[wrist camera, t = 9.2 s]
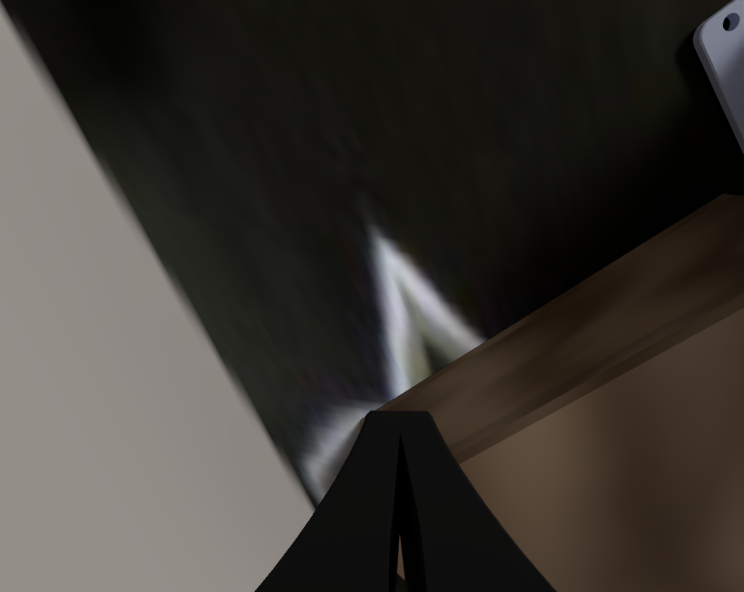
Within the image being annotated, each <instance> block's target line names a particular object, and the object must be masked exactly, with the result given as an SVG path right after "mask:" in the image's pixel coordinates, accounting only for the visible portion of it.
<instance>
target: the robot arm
mask: <svg viewBox="0 0 744 592" xmlns="http://www.w3.org/2000/svg"><path fill="white" fill-rule="evenodd" d="M725 17H727V18H728V19H729V20H730V26H729V29H728V30H727V31H725V29H724V28H723V21H724V19H725ZM693 43H694V47H695V49H696V52H697V54H698V56H699V58H700V60H701V62H702V65H703V67H704V69H705V71H706V73H707V75H708V78H709V80H710V82H711V84H712V86H713V89H714V91H715V93H716V95H717V97H718V99H719V102H720V104H721V106H722V108H723V110H724V113H725V115H726V117H727V119H728V121H729V123H730V126H731V128H732V130H733V132H734V134H735V136H736V139H737V141H738V143H739V145H740V147H741V150H742V152H743V154H744V0H733V1H731V2H730V3H729V4H727V5H726V6H724V7H723V8H722V9H720V10H719V11H718V12H716V13H715V14H714V15H712V16H711V17H709V18H708V19H707V20H705V21H704V22H703V23H702V24H701V25H700V26H699V27H698V28H697V29H696V31H695V33H694V37H693ZM399 538H400V541H401V551H402V560H403V569H404V578H405V587H406V592H557V591H556V590H555V589H554V588H553V587H552V585H551V584H550V583H549V582H548V581H547V580H546V579H545V577H544V576H543V575H542V574H541V573H540V572H539V570H538V569H537V568H536V567H535V566H534V565H533V563H532V562H531V561H530V560H529V559H528V558H527V556H526V555H525V554H524V553H523V552H522V550H521V549H520V548H519V547H518V545H517V544H516V543H515V542H514V540H513V539H512V538H511V537H510V535H509V534H508V533H507V532H506V530H505V529H504V528H503V526H502V525H501V524H500V522H499V521H498V520H497V518H496V517H495V516H494V515H493V513H492V512H491V511H490V509H489V508H488V507H487V505H486V504H485V502H484V501H483V500H482V498H481V497H480V495H479V494H478V492H477V491H476V490H475V488H474V487H473V485H472V484H471V482H470V481H469V479H468V478H467V476H466V475H465V473H464V472H463V470H462V469H461V467H460V466H459V464H458V462H457V461H456V459H455V457H454V456H453V454H452V453H451V451H450V449H449V447H448V446H447V444H446V442H445V440H444V439H443V437H442V435H441V433H440V431H439V429H438V427H437V425H436V423H435V421H434V419H433V416H432V415H431V414H430V413H429V412H428V411H370V412H369V413H368V414H366V416H365V420H364V423H363V425H362V428H361V430H360V433H359V435H358V437H357V439H356V441H355V444H354V446H353V448H352V450H351V452H350V454H349V455H348V457H347V459H346V461H345V463H344V464H343V466H342V468H341V470H340V472H339V473H338V475H337V477H336V479H335V481H334V482H333V484H332V486H331V487H330V489H329V490H328V492H327V493H326V495H325V496H324V498H323V500H322V501H321V503H320V504H319V506H318V507H317V509H316V510H315V512H314V513H313V515H312V517H311V518H310V520H309V521H308V523H307V524H306V525H305V527H304V528H303V530H302V531H301V532H300V534H299V535H298V537H297V538H296V540H295V541H294V542H293V544H292V545H291V546H290V548H289V549H288V550H287V552H286V553H285V554H284V556H283V557H282V558H281V559H280V561H279V562H278V563H277V565H276V566H275V567H274V569H273V570H272V571H271V572H270V573H269V575H268V576H267V577H266V578H265V580H264V581H263V582H262V583H261V585H260V586H259V587H258V588H257V589H256V590H255V592H396V584H397V569H398V554H399Z"/></svg>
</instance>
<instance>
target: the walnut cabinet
mask: <svg viewBox="0 0 744 592" xmlns="http://www.w3.org/2000/svg"><path fill="white" fill-rule="evenodd" d="M376 411H428V412H429V413H430V414H431V415H432V416H433V419H434V421H435V423H436V425H437V427H438V429H439V431H440V433H441V435H442V437H443V439H444V440H445V442H446V444H447V446H448V447H449V449H450V451H451V453H452V454H453V456H454V457H455V459H456V461H457V462H458V464H459V466H460V467H461V469H462V470H463V472H464V473H465V475H466V476H467V478H468V479H469V481H470V482H471V484H472V485H473V487H474V488H475V490H476V491H477V492H478V494H479V495H480V497H481V498H482V500H483V501H484V502H485V504H486V505H487V507H488V508H489V509H490V511H491V512H492V513H493V515H494V516H495V517H496V518H497V520H498V521H499V522H500V524H501V525H502V526H503V528H504V529H505V530H506V532H507V533H508V534H509V535H510V537H511V538H512V539H513V540H514V542H515V543H516V544H517V545H518V547H519V548H520V549H521V550H522V552H523V553H524V554H525V555H526V556H527V558H528V559H529V560H530V561H531V562H532V563H533V565H534V566H535V567H536V568H537V569H538V570H539V572H540V573H541V574H542V575H543V576H544V577H545V579H546V580H547V581H548V582H549V583H550V584H551V585H552V587H553V588H554V589H555V590H556V591H557V592H744V196H741V195H731V194H722V195H720V196H718V197H717V198H715V199H714V200H712V201H710V202H709V203H707V204H706V205H704V206H702V207H701V208H699V209H698V210H696V211H694V212H693V213H691V214H690V215H688V216H686V217H685V218H683V219H682V220H680V221H678V222H677V223H675V224H673V225H672V226H670V227H669V228H667V229H665V230H664V231H662V232H661V233H659V234H657V235H656V236H654V237H653V238H651V239H649V240H648V241H646V242H645V243H643V244H641V245H640V246H638V247H637V248H635V249H633V250H632V251H630V252H629V253H627V254H625V255H624V256H622V257H621V258H619V259H617V260H616V261H614V262H613V263H611V264H609V265H608V266H606V267H605V268H603V269H601V270H600V271H598V272H597V273H595V274H593V275H592V276H590V277H589V278H587V279H585V280H584V281H582V282H581V283H579V284H577V285H576V286H574V287H573V288H571V289H569V290H568V291H566V292H565V293H563V294H561V295H560V296H558V297H557V298H555V299H553V300H552V301H550V302H549V303H547V304H545V305H544V306H542V307H541V308H539V309H537V310H536V311H534V312H533V313H531V314H529V315H528V316H526V317H525V318H523V319H521V320H520V321H518V322H517V323H515V324H513V325H512V326H510V327H508V328H507V329H505V330H504V331H502V332H500V333H499V334H497V335H496V336H494V337H492V338H491V339H489V340H488V341H486V342H484V343H483V344H481V345H480V346H478V347H476V348H475V349H473V350H472V351H470V352H468V353H467V354H465V355H464V356H462V357H460V358H459V359H457V360H456V361H454V362H452V363H451V364H449V365H448V366H446V367H444V368H443V369H441V370H440V371H438V372H436V373H435V374H433V375H432V376H430V377H428V378H427V379H425V380H424V381H422V382H420V383H419V384H417V385H416V386H414V387H412V388H411V389H409V390H408V391H406V392H404V393H403V394H401V395H400V396H398V397H396V398H395V399H393V400H392V401H390V402H388V403H387V404H385V405H384V406H382V407H380V408H379V409H377V410H376ZM364 420H365V417H364V418H363V419H361V426H360V430H361V428H362V425H363V423H364ZM397 573H398V574H399V575H400V576H401V577H402V578H403V579H404V580H405V578H404V569H403V560H402V551H401V541H400V538H399V554H398V569H397Z"/></svg>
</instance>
